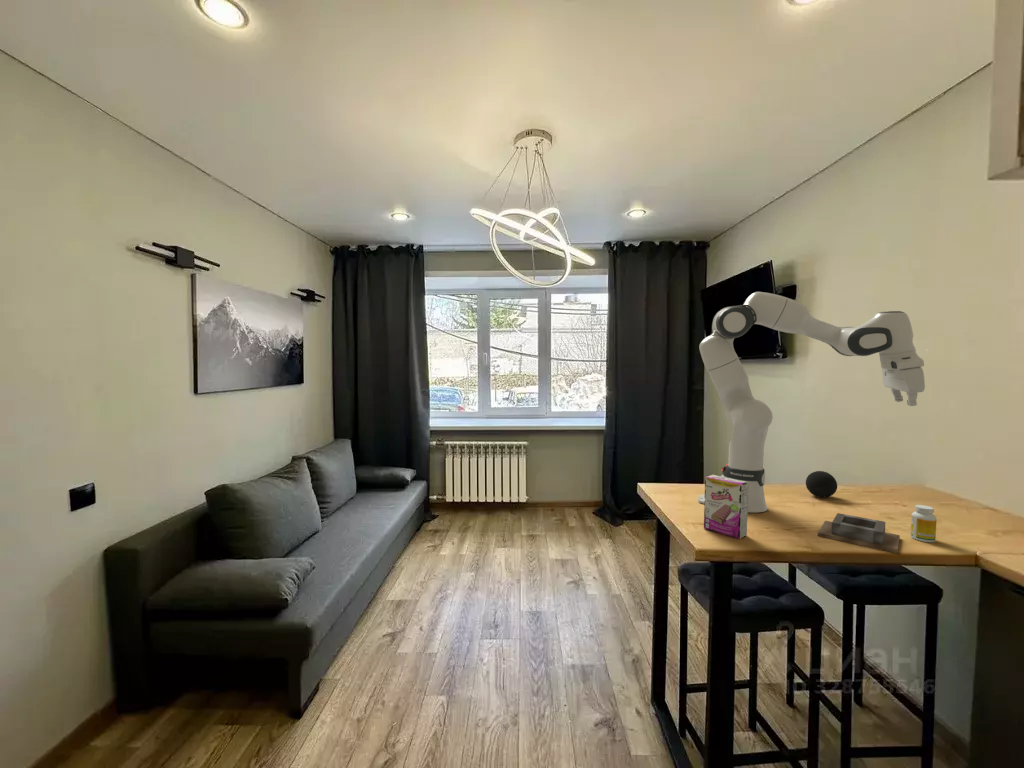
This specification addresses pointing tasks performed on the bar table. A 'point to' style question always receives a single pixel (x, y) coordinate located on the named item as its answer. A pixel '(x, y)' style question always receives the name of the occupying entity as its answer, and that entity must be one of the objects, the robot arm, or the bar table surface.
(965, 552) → the bar table surface
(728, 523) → the candy bar box
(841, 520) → the holder stand
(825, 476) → the speaker
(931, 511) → the supplement bottle
